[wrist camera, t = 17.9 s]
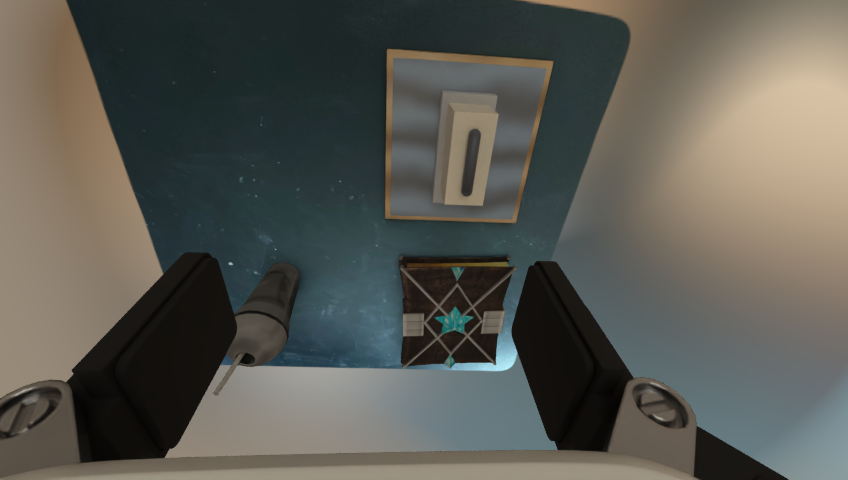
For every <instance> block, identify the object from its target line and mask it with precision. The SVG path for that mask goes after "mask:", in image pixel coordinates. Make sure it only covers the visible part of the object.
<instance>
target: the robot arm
mask: <svg viewBox="0 0 848 480" xmlns="http://www.w3.org/2000/svg"><path fill="white" fill-rule="evenodd" d="M236 333H237V323H236V320H235V316H234V313H233V310H232V306H231V303H230V300H229V296H228V293H227V290H226V286H225V283H224V279H223V276H222V273H221V269H220V266H219V263H218V260H217V259H216V258H212V256H211V255H210V254H209V253H192V252H187V253H184V254H183V255H182V256H181V257H180V258H179V259H178V260H177V261H176V262H175V263H174V264H173V265H172V266H171V267H170V268H169V269H168V270H167V271H166V272H165V273H164V274H163V275H162V277H161V278H160V279H159V280H158V281H157V282H156V283H155V284H154V285H153V286H152V287H151V288H150V289H149V290H148V291H147V292H146V293H145V294H144V295H143V296H142V297H141V298H140V299H139V301H138V302H137V303H136V304H135V305H134V306H133V307H132V308H131V309H130V310H129V311H128V312H127V313H126V314H125V315H124V316H123V317H122V318H121V319H120V320H119V321H118V322H117V323H116V324H115V326H114V327H113V328H112V329H111V330H110V331H109V332H108V333H107V334H106V335H105V336H104V337H103V338H102V339H101V340H100V341H99V342H98V343H97V344H96V345H95V346H94V347H93V349H91V351H90V352H89V353H88V354H87V355H86V356H85V357H84V358H83V359H82V360H81V361H80V362H79V363H78V364H77V365H76V366H75V367H74V368H73V369H72V372H73V373H74V374H73V376H72V377H71V378H70V379H69V380H68V381H67V382H64V381H61V380H47V381H40V382H36V383H33V384H30V385H27V386H24V387H21V388H19V389H17V390H15V391H13V392H11V393H9V394H7V395H5V396H3V397H2V398H0V480H788V479H787V478H785V477H784V476H782V475H780V474H778V473H776V472H775V471H773V470H771V469H770V468H768V467H766V466H765V465H763V464H761V463H760V462H758V461H756V460H754V459H753V458H751V457H749V456H748V455H745V454H744V453H742V452H741V451H739V450H737V449H735V448H734V447H732V446H730V445H729V444H727V443H725V442H723V441H722V440H720V439H718V438H717V437H715V436H713V435H712V434H710V433H708V432H706V431H705V430H703V429H701V428H699V427H698V426H697V423H696V417H695V414H694V412H693V410H692V408H691V406H690V405H689V404H688V403H687V402H686V400H685V399H684V398H683V397H682V396H681V395H679V394H678V393H677V392H676V391H675V390H673V389H672V388H670V387H669V386H667V385H665V384H664V383H661V382H659V381H656V380H654V379H650V378H644V377H640V378H633V376H632V375H631V373H630V372H629V370H628V369H627V367H626V366H625V364H624V363H623V361H622V360H621V358H620V357H619V355H618V354H617V352H616V350H615V349H614V348H613V346H612V344H611V343H610V341H609V340H608V338H607V337H606V335H605V334H604V332H603V331H602V329H601V328H600V326H599V325H598V323H597V322H596V320H595V319H594V317H593V316H592V314H591V313H590V311H589V310H588V308H587V307H586V306H585V305H584V303H583V302H582V300H581V299H580V297H579V295H578V294H577V292H576V291H575V289H574V288H573V286H572V285H571V284H570V282H569V280H568V279H567V277H566V276H565V274H564V273H563V271H562V270H561V268H560V267H559V265H558V264H557V263H556V262H553V261H537V262H535V264H534V266H530V267H529V268H528V272H527V275H526V279H525V282H524V286H523V289H522V293H521V297H520V300H519V304H518V307H517V311H516V314H515V318H514V321H513V325H512V338H513V341H514V344H515V346H516V349H517V352H518V355H519V358H520V360H521V363H522V366H523V369H524V372H525V375H526V377H527V380H528V383H529V386H530V389H531V391H532V394H533V397H534V400H535V403H536V405H537V408H538V411H539V414H540V417H541V420H542V422H543V425H544V428H545V431H546V434H547V436H548V438H549V439H550V440H551V441H555V443H556V446H557V449H558V450H496V451H434V452H386V453H385V452H384V453H383V452H382V453H339V454H338V453H336V454H293V455H255V456H218V457H183V458H182V457H181V458H165V456H166V454H167V452H168V450H169V449H170V448H171V449H172V448H174V447H175V446H176V445H177V444H178V442H179V441H180V439H181V437H182V435H183V433H184V431H185V430H186V428H187V426H188V424H189V422H190V420H191V418H192V417H193V415H194V413H195V411H196V409H197V407H198V405H199V403H200V402H201V400H202V398H203V396H204V394H205V392H206V390H207V389H208V386H209V385H210V383H211V381H212V379H213V377H214V375H215V374H216V371H217V370H218V368H219V366H220V364H221V362H222V361H223V359H224V357H225V355H226V353H227V351H228V349H229V347H230V346H231V344H232V342H233V340H234V338H235V336H236Z"/></svg>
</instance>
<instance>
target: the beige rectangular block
mask: <svg viewBox="0 0 848 480" xmlns="http://www.w3.org/2000/svg"><path fill="white" fill-rule="evenodd" d="M497 97H498V96H497V95H495V94H493V93H478V92H462V91H447V90H441V99H440V110H439V122H438V133H437V144H436V156H435V167H434V179H433V190H432V202H433V203H444V204H446V205H472V206H483V201H484V196H485V190H486V184H487V178H488V173H489V167H490V161H491V155H492V150H493V144H494V138H495V133H496V127H497V121H498V115H499V114H498V113H497V112H496V111H495V108H496V103H497Z"/></svg>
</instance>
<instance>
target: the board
mask: <svg viewBox="0 0 848 480" xmlns="http://www.w3.org/2000/svg"><path fill="white" fill-rule="evenodd" d="M552 67H553V61H549V60H537V59H523V58H510V57H496V56H483V55H470V54H456V53H443V52H429V51H416V50H403V49H389V48H388V49H387V86H386V181H385V218H386V219H412V220H442V221H471V222H500V223H516V219H517V215H518V210H519V206H520V202H521V198H522V194H523V189H524V185H525V181H526V177H527V172H528V168H529V164H530V160H531V155H532V151H533V147H534V143H535V138H536V134H537V130H538V126H539V122H540V117H541V113H542V109H543V105H544V100H545V96H546V92H547V88H548V83H549V79H550V75H551V71H552ZM441 90H447V91H462V92H478V93H493V94H495V95H497V96H498V97H497V103H496V108H495V111H496V112H497V113H498V114H499V115H498V121H497V127H496V133H495V138H494V144H493V150H492V155H491V161H490V167H489V173H488V178H487V184H486V190H485V196H484V201H483V206H472V205H446V204H444V203H433V202H432V190H433V179H434V167H435V156H436V144H437V133H438V122H439V110H440V99H441Z"/></svg>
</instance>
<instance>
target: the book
mask: <svg viewBox="0 0 848 480" xmlns="http://www.w3.org/2000/svg"><path fill="white" fill-rule="evenodd" d="M399 259H400V260H399V268H400V274H401V280H402V286H403V292H404V298H403V344H402V353H401V363H402V368H403V369H404V368H405V367H407V366H414V365H426V364H445V365H446V366H448V367H449V368H451V367H452V366H453V365H454V364H455V363H493V364H494V365H496V347H497V337H498V333H501V329H502V324H503V319H504V314H505V310H504V308H503V300H504V297H505V294H506V291H507V288H508V285H509V282H510V279H511V276H512V273H513V272H515V271H516V270H517V268H516V266H515V265H513V267H509V265H508V261H509V260H510V256H509V255H507V256H506V257H486V258H420V257H405V258H404V257H403V255H402V254H401V255H400V256H399Z"/></svg>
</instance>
